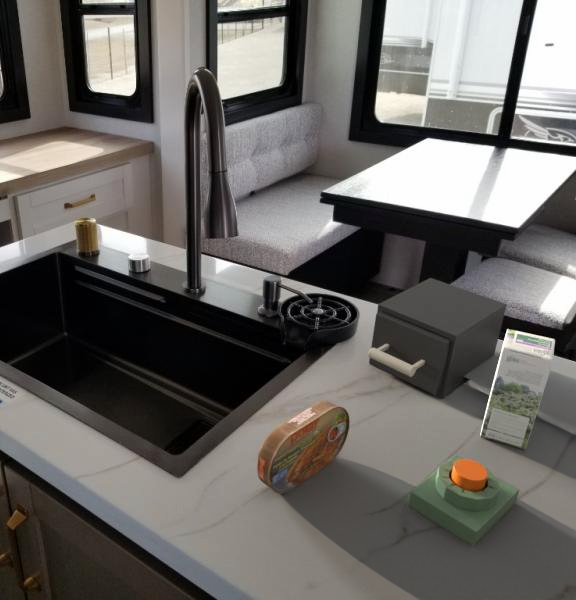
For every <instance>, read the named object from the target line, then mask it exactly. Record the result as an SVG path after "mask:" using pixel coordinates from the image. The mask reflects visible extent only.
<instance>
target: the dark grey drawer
mask: <svg viewBox="0 0 576 600" xmlns="http://www.w3.org/2000/svg"><path fill="white" fill-rule="evenodd" d="M372 332H373V333H372V340H371V346H370V349H369V351H368V354H367V356H368V358H369V360H368V363H369V365H371V364H373V365H375V366H377V367H376V368H378V367H379V368H378V369H380V368H381V369H380V370H382V369H383V370H382V371H384V370H385V371H384V372H386V371H387V372H386V373H388V372H389V373H388V374H390V373H391V374H390V375H392V374H393V375H392V376H394V375H395V376H394V377H396V376H397V378H398V377H399V378H398V379H400V378H401V379H400V380H402V379H403V381H404V380H406V381H408V382H410V383H409V384H411V383H412V384H411V385H413V384H414V385H413V386H415V385H416V386H415V387H417V386H418V387H417V388H419V387H420V388H419V389H421V388H422V389H421V390H423V389H424V390H423V391H425V390H426V391H425V392H427V391H428V392H427V393H429V392H430V393H429V394H431V393H432V394H431V395H433V394H434V395H433V396H435V395H436V394H438V393H439V392H440V389H441V384H442V379H443V375H444V370H445V365H446V361H447V356H448V351H449V346H450V342H451V340H449V339H448V338H446V337H443V336H441V335H439V334H436V333H434V332H431V331H429V330H426V329H424V328H421V327H419V326H417V325H414V324H412V323H409V322H407V321H404V320H402V319H400V318H397V317H395V316H392V315H388V314H386V313H383V312H379V313H377V312H376V313H375V319H374V326H373V331H372ZM373 365H372V366H373ZM375 366H374V367H375ZM406 381H405V382H406ZM408 382H407V383H408Z"/></svg>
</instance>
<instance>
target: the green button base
mask: <svg viewBox="0 0 576 600" xmlns="http://www.w3.org/2000/svg"><path fill="white" fill-rule="evenodd" d="M461 459H464V458H463V457H461V456H459V455H457V454H455V455H453V456H452V457H451V458H450V459H448V460H446V461H444V462H442V464H440V465H439V466H438V467H437V469H436V470H435V471H434V472H433V473H431V475H429V476H427V478H425V479H424V480H422V482H420V483H419V484H418V485H417V486H416V487H415V488H413V489H412V490H411V491H410V494H409V499H408V504H407V505H408V507H410V508H412V509H413V510H415V511H416V512H418V513H419V514H421V515H422V516H425V517H426V518H427V519H429V520H431V521H432V522H434V523H435V524H437V525H439V526H440V527H441V528H443V529H445V530H446V531H448V532H449V533H451V534H453V535H454V536H456V537H457V538H459V539H461V540H462V541H463V542H465V543H466V544H468V545H470V546H472V547H474V546H475V544H477V543H478V542H479V541H480V540H481V538H482V537H483V536H484V535H485V534H487V533H488V531H490V530H491V528H492V527H494V525H496V523H498V522H499V520H500V519H501V518H502V517H503V516H505V515H506V513H507V512H508V511H509V510H510V509H512V507H513V506H514V505H515V504H516V503H517V499H518V496H519V493H520V488H518V487H516V486H514V485H512V484H511V483H508V482H507V481H505V480H503V479H501V478H499V477H497V476H496V475H494V474H493V473H492V471H491V470H490V469H488V468H486V467H485V469H486V470H487V473H488V476H487V479H486V483H485V487H484V489H483V490H481V491H478V492H472V491H467V490H463V489H462V488H460V487H458V486H456V485H455V484H454V483H453V482H452V480H451V474H452V470H453V466H454V463H455V462H456V461H458V460H461Z"/></svg>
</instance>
